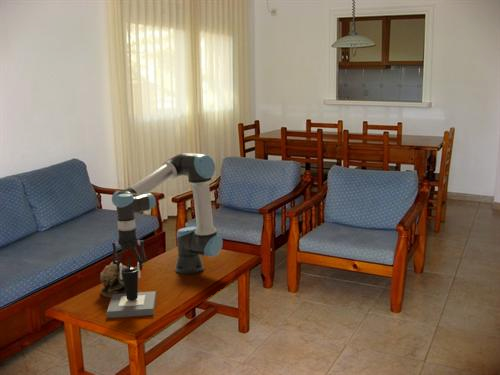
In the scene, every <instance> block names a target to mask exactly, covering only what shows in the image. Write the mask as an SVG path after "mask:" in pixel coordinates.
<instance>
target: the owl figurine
mask: <svg viewBox="0 0 500 375" xmlns="http://www.w3.org/2000/svg"><path fill="white" fill-rule="evenodd" d="M126 267H127V266H126V265H123V264H122V269H124V268H126ZM99 276H100V277H99V278H100V281H101V284H102V286H103V287H104V288H101V290H100V291H99V296H100V297H102V298H104V299H108V300H111V298H112V295H113V294H121V293H126V292H125V287H124V281H123V278H122V279H120V272H118V271H117V265H116V264H113V261H111V262H110V264H108V265H105V267H104V268H103V270H102V271H101V272H100V275H99Z"/></svg>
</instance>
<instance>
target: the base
mask: <svg viewBox="0 0 500 375" xmlns="http://www.w3.org/2000/svg"><path fill="white" fill-rule="evenodd" d="M156 292H157V291H156V290H154V291H153V290H152V291H138V298H137V299H135V300H127V297H126V293H121V294H113V295H112V298H111V299H110V301H109V303H108V307H107V310H106V318H107V319H113V318H116V319H117V318H128V317H141V316H142V317H143V316H154V314H155V306H156V300H157V293H156Z"/></svg>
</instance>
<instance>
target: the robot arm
mask: <svg viewBox="0 0 500 375" xmlns="http://www.w3.org/2000/svg"><path fill="white" fill-rule="evenodd" d="M215 171H216V164H215V161H214V159H213V158H212V157H211V156H210V155H208V154H204V153H193V152H192V153H190V152H182V153H179V154H176V155H174V156H172V157H171V158H169V159H167V160H165V161H164V162H163V163H162V164H161V166H160V167H158V168H157V169H155V170H154V171H152V172H150V173H149V174H148V175H146V176H144V177H143V178H141V179H139V180H138V181H137V182H135V183H133V184H132V185H131V186H129V187H127V188H126V189H124V190H116V191H114V193H113V194H112V196H111V202H112V204H113V205H114V206H115V207H116V215H117V216H116V217H117V228H118V240H117V241H113V242H112V244H111V245H112V247H113V248H112V249H113V250H112V262H113V264H116V265H117V271H118V272H120V279H122V278H123V276H122V273H121V272H122V265H123V264H122V262H121V260H122V259H123V255H124V252H125V250H131V251H132V252H133V254H134V257H135V258H136V260H137V266H136V268H138V279H140V278H141V271H142V270H143V263H146V262H147V259H146V253H145V248H144V239H138V238H137V232H136V231H137V229H136V214H138V213H143V212H147V211H150V210H153V209H154V208H155V207H156V204H157V202H156V201H157V200H156V197H155V196H154V195H153V194H152V192H153V191H154V190H155V189H157V188H159V187H160V186H162V185H163V184H165V183H166V182H168V181H169V180H171V179H176V178H177V177H180V176H181V177H182V176H186V177H187V176H188V177H187V179H188V183H190V184H191V187H192V196H193V205H194V214H195V221H196V226H187V227H183V228H179V229H177V231H176V245H177V259H176V262H175V269H174V270H175V272H177V273H178V274H184V275H189V274H191V275H192V274H197V273H200V272H202V271H203V270H204V263H203V260H202V258H201V256H205V257H209V258H210V257H211V258H214V257H216V256H217V255H218V254H219V253H220V252H221V250H222V248H223V237H221V236H220V235H219V234H218V229H217V228H216V227H215V226H214V220H213V218H214V217H213V210H212V200H211V199H212V198H211V192H210V191H211V190H210V182H211V181H212V177H213V176H214V175H215ZM137 244H138V246H139V250H140V253H139V251H138V250H137V247H136V245H137ZM118 246H119V247H121V248H120V253H119V255H118V259H117V252H118V251H117V250H118V248H117V247H118ZM201 270H202V271H201ZM199 271H200V272H199Z"/></svg>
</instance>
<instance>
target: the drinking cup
mask: <svg viewBox="0 0 500 375" xmlns="http://www.w3.org/2000/svg"><path fill="white" fill-rule="evenodd" d="M130 260H131V259H130V255H129V256H127V264H128V266H126V268H124V269H122V272H121V273H122V276H123V281H124V287H125V292H126V297H127V300H135V299H137V298H138V292H139V291H138V290H139V288H138V286H139V283H138V282H139V280H138V279H139V278H138V267H137V266H135V267H134V266H131V262H130Z"/></svg>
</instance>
